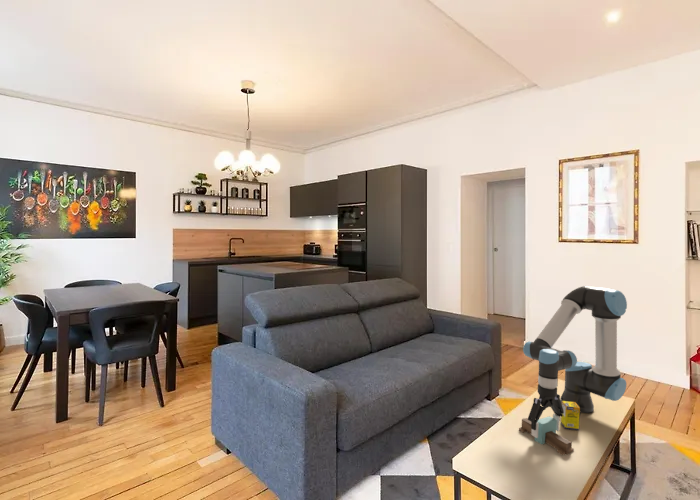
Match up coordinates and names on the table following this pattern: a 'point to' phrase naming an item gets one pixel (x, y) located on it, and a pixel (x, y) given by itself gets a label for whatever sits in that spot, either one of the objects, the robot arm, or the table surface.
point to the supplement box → (570, 415)
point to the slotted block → (545, 428)
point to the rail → (550, 438)
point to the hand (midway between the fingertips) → (545, 432)
